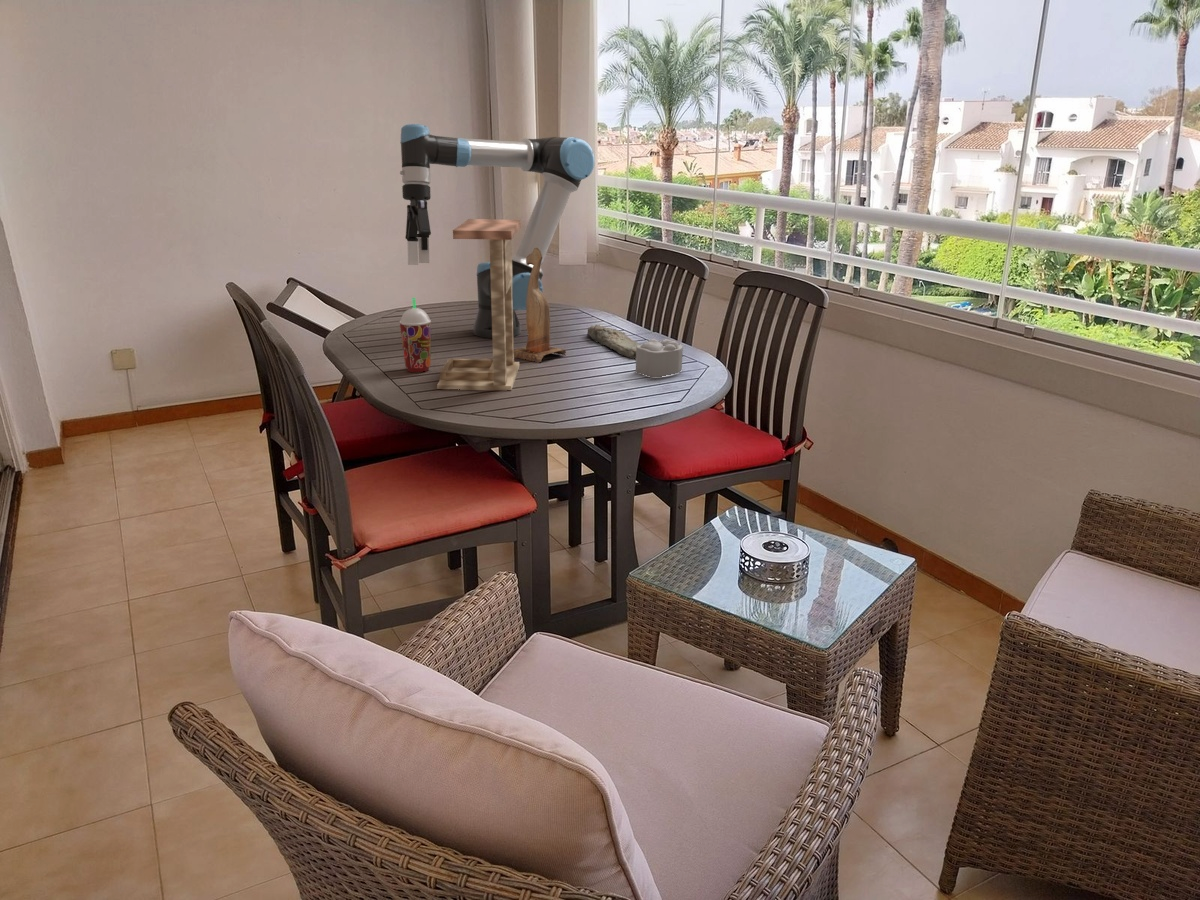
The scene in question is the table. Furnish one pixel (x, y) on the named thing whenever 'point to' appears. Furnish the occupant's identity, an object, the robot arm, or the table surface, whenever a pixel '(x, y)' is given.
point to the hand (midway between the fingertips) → (418, 264)
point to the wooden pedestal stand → (502, 366)
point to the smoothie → (416, 339)
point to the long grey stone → (614, 340)
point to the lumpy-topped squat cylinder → (659, 358)
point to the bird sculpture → (536, 316)
